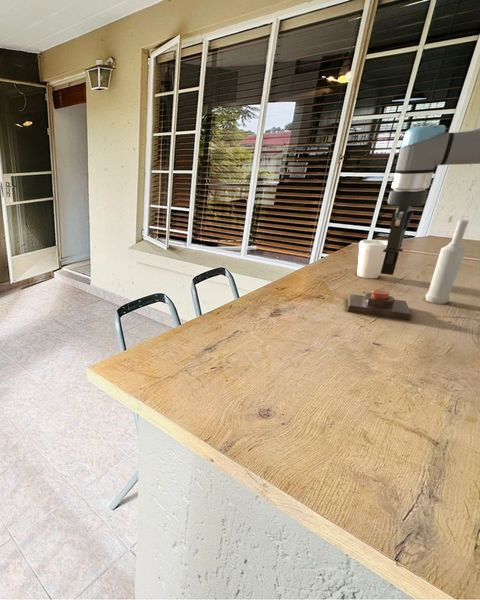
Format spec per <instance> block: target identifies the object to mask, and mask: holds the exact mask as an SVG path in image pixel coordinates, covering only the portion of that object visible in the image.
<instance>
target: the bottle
mask: <svg viewBox="0 0 480 600" xmlns="http://www.w3.org/2000/svg"><path fill="white" fill-rule="evenodd" d="M469 223H470V220H468V219H458V221H457V224H456V228H455V231H454V233H453V237H452V239H451V242H449V243H448V244H447V245H445V246H443V247H441V249H440V251H439V254H438V258H437V262H436V265H435V268H434V272H433V276H432V279H431V282H430V284H429V288H428V292H427V293H426V294H425V301H426V302H429V303H433V304H439V305H442V304H443V305H444V304H447V303H448V302H449V300H450V293H451V291H452V288H453V286H454V284H455V281H456V278H457V276H458V273H459V271H460V268H461V266H462V263H463V260H464V258H465V256H466V253H467V249H466V248H465V247H463V243H462V241H463V238H464V236H465V232H466V230H467V227H468V224H469Z"/></svg>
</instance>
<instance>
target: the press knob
mask: <svg viewBox="0 0 480 600" xmlns="http://www.w3.org/2000/svg"><path fill="white" fill-rule="evenodd" d="M370 293H371V297H372V298H374V299H380V300H388V297H389V296H390V292H389V291H387V290H383V289H373V290H371V292H370Z"/></svg>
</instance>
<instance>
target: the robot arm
mask: <svg viewBox="0 0 480 600" xmlns="http://www.w3.org/2000/svg"><path fill="white" fill-rule="evenodd" d="M477 164H478V165H480V127H478V128H475V129H472V130H467V131H459V132H458V131H457V132H447V131H446V125H444V124H436V125H425V126H423V125H422V126H414V127H410V128H409V129H407V130H406V131H405V133H404V135H403V138H402V143H401V145H400V149H399V154H398V158H397V162H396V168H395V171H394V175H393V176H391V177H390V179H389V180H390V181H392V183H391V189H393V190H391V191H390V192H389V195H388V198H387V205H389V206H395V207H396V206H397V208H396V210H394V211H393V212H392V214H391V222H390V230H389V234H388V239H387V241H388V243H387V248H386V250H385V249H384V250H383V252H386V254H385V258H384V262H383V266H382V270H381V272H380V274H382V275H389V276H394V273H395V269H396V266H397V262H398V258H399V254H400V252H403V251H404V248H402V246H403V241H404V237H405V234H406V231H407V228H408V227H409V226H410V222H411V219H412V217H413V215H414V211H412V210H411V209H412V207H418V206H419V207H420V206H423V205H424V204H425V203H426V200H427V196H428V191H427V190H426V189H429V188H430V186H431V182H432V180H433V176H434V170H435V167H436V166H445V165H446V166H447V165H449V166H450V165H452V166H453V165H477Z"/></svg>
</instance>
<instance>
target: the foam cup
mask: <svg viewBox="0 0 480 600" xmlns="http://www.w3.org/2000/svg"><path fill="white" fill-rule="evenodd" d="M387 243H388V240H383V239H361V240H360V241H359V245H358V258H357V259H358V262H357V271H356V273H357V274H356V275H357V276H358V277H361V278H365V279H378V278H379V276H380V274H381V270H382V266H383V262H384V258H385V254H386V252H383V250H384V249H385V250H386V248H387Z"/></svg>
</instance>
